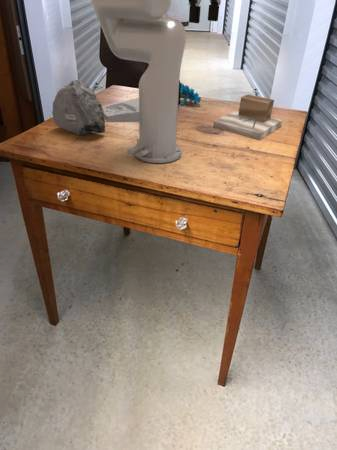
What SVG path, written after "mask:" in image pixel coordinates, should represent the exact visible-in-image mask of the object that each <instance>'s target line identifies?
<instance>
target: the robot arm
mask: <svg viewBox="0 0 337 450" xmlns="http://www.w3.org/2000/svg"><path fill="white" fill-rule="evenodd" d="M221 1H222V0H209V3H210V4H208V13H207V20H208V21H209V22H218V21H219V14H220V13H219V11H220V6H221V4H222V3H221ZM201 2H202V0H188V6H189V14H188V22H189V23H191V24H200V19H201V8H202V7H201V6H200V4H201ZM91 3H92V6H93V7H92V8H93V10H94V12H95V13H94V14H95V15H96V19H97V20H98V23H99V25H100V28H101V30H102V32H103V35H104V37H105V39H106V40H105V41H106V42H107V45H108V46H109V49H110V51H111V52H112V53H113V55H114V56H116V57H117V58H118V59H121V60H127V61H133V62H143V63H147V64H148V67H147V68H146V70H145V71H144V72H143V74H142V75H141V76H140V79H139V82H138V98H139V122H138V124H139V125H138V132H139V134H138V137H139V138H138V139H136V144H135V146H132V147H130V148H128V149H127V151H126V153H127V155H128V157H133V156H135V157H136V158H137V159H139V160H140V161H142V162H147V163H151V164H166V163H171V162H174V161H176V160H178V159H180V158H181V156H182V149H181V147H180V146H179V145H178V144H177V128H178V113H179V112H178V111H179V110H178V109H179V108H178V95H179V80H180V79H181V78H180V76H181V68H182V62H183V57H184V53H185V52H184V51H185V48H186V42H187V41H186V40H187V33H186V29H185V26H184V25H183V23H182V21H180V20H178V19H177V18H175V17H172V16H170V15H169V16H168V15H167V14H168V13H169V10H170V7H171V0H91Z"/></svg>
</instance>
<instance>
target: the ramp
mask: <svg viewBox="0 0 337 450" xmlns="http://www.w3.org/2000/svg"><path fill="white" fill-rule="evenodd" d="M101 106H102V105H101ZM102 109H103V111H104V120H106V122H108V123H139V97H137V98H136V97H135V98H131V99H127V100H124V101H123V100H122V101H118V102H115V103H114V102H113V103H110V104H106V105H103V106H102Z"/></svg>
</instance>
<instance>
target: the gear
mask: <svg viewBox="0 0 337 450" xmlns="http://www.w3.org/2000/svg"><path fill="white" fill-rule="evenodd" d="M180 91H181V95H180V96H181V97H180V99H183V100H182V101H181V102H180V105H181V106H183V107H184V105H185V103H186V101H187V100H189V101H190V102H194V104H200V102H201V99H202V98H201V96H200V94H199V93H198V92H195V89H194V88H192V87H191V88H190V86H189V85H187V84H185V85H184V83H181V90H180Z"/></svg>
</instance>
